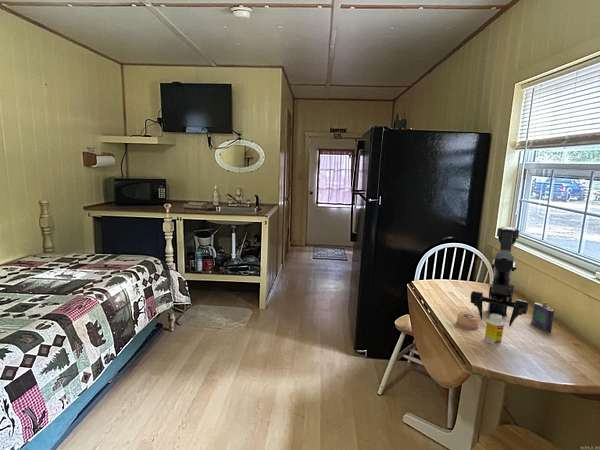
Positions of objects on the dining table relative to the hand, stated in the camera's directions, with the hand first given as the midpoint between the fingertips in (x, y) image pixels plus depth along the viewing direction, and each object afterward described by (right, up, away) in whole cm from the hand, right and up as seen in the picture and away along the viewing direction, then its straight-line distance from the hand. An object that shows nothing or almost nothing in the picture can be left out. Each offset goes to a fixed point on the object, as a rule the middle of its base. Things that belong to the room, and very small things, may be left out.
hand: (495, 322), depth 131 cm
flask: (+27, -6, +15) cm, 32 cm away
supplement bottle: (0, -8, +2) cm, 8 cm away
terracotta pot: (-3, -5, +15) cm, 16 cm away
